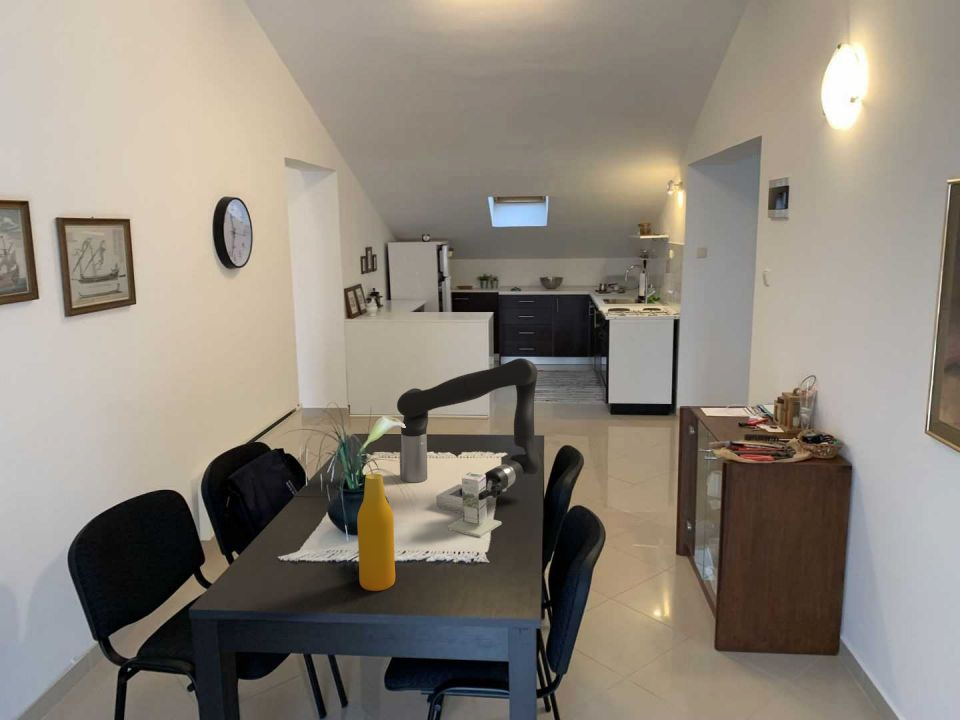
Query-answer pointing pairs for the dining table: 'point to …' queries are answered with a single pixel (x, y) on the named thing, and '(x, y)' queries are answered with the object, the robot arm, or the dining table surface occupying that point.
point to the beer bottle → (375, 537)
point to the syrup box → (473, 498)
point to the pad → (475, 527)
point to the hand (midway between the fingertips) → (470, 494)
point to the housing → (453, 499)
